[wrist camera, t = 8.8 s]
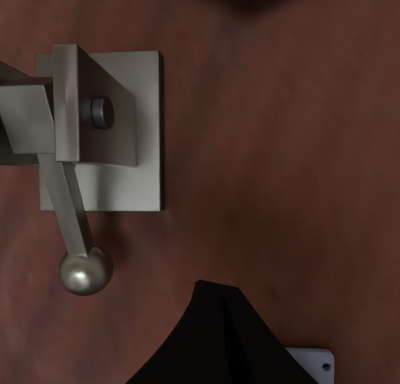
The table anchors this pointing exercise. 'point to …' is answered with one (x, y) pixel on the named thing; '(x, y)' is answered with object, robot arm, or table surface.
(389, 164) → the table surface
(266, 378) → the robot arm
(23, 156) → the bracket
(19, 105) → the tap lever
